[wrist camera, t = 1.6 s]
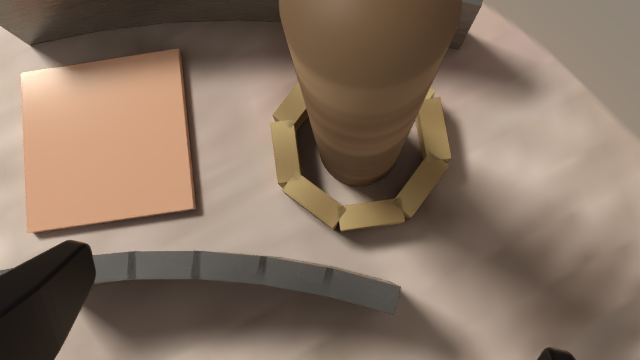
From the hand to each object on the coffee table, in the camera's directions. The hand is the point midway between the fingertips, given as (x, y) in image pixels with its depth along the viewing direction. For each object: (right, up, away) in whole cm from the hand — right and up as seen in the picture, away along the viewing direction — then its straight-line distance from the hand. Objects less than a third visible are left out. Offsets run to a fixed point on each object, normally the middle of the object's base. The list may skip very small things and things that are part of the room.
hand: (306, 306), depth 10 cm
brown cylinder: (+2, +4, +13) cm, 14 cm away
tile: (-10, +4, +14) cm, 17 cm away
